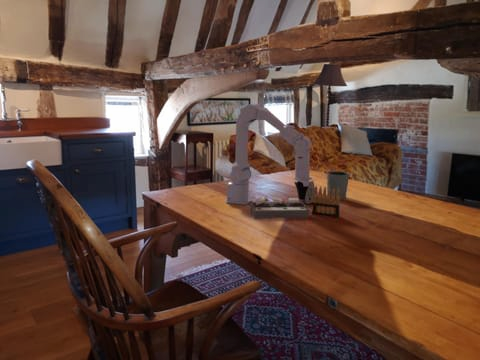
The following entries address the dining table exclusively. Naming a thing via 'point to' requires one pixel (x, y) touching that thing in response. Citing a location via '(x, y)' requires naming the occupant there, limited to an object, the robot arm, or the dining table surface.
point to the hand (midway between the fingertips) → (301, 199)
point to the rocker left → (261, 200)
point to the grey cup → (338, 182)
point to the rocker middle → (278, 200)
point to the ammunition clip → (326, 203)
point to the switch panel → (279, 210)
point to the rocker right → (295, 200)
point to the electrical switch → (309, 193)
